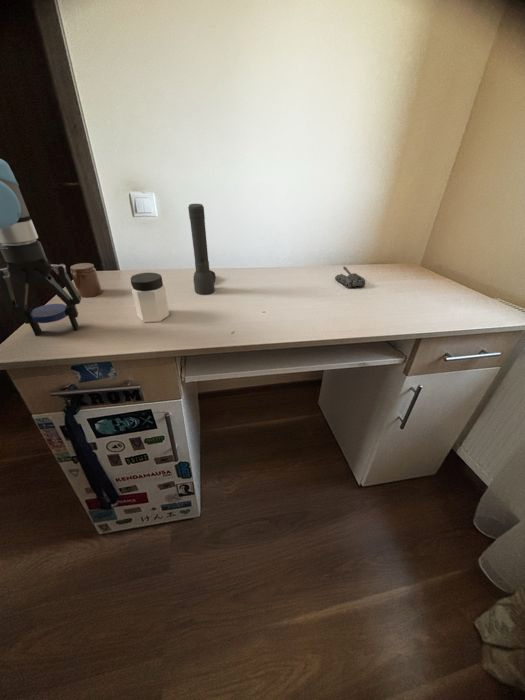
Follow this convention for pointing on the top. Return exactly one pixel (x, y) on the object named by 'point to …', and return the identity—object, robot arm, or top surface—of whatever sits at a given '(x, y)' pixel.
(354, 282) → the tank toy
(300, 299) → the top surface
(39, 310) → the lid
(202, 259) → the flashlight
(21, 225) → the robot arm
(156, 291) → the jar
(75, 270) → the jam jar
